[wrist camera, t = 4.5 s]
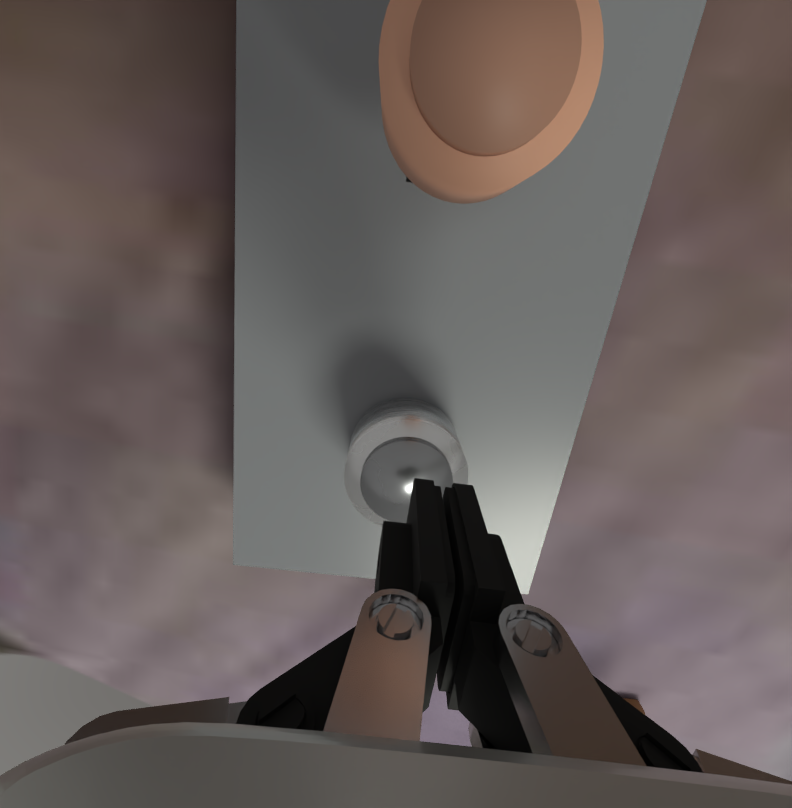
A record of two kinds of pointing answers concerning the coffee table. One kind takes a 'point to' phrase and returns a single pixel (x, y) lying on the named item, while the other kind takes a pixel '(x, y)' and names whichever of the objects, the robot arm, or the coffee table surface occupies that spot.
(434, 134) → the knob middle
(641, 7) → the knob panel
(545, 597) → the coffee table surface
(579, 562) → the coffee table surface
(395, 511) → the knob
